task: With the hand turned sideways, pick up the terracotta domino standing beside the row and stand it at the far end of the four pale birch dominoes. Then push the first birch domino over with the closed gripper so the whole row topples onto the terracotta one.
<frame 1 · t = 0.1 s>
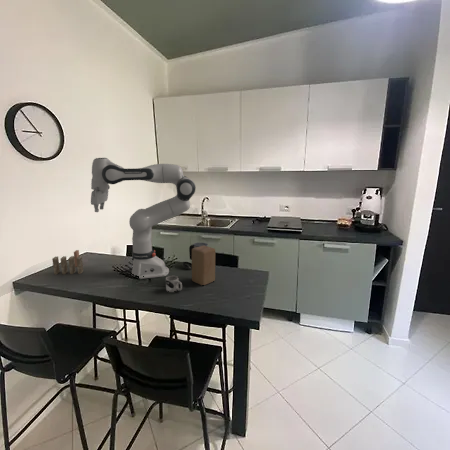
hand: (99, 210, 161), 39 cm above the table, tool pointing down, fingers open, 8 cm apart
mug: (174, 290, 150), on the table
domino 2: (72, 272, 170), on the table
wooden block: (203, 281, 162), on the table
domino 1: (80, 272, 171), on the table
milk frother: (195, 267, 184), on the table
domino 3: (65, 273, 170), on the table
domino 4: (57, 273, 169), on the table
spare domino: (77, 265, 182), on the table
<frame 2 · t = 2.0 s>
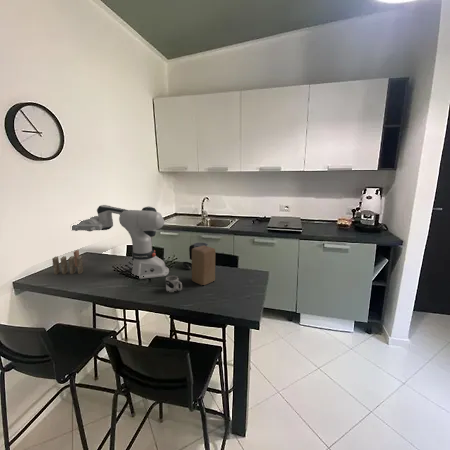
hand: (83, 229, 190), 21 cm above the table, tool horizontal, fingers open, 8 cm apart
nothing on the table moved.
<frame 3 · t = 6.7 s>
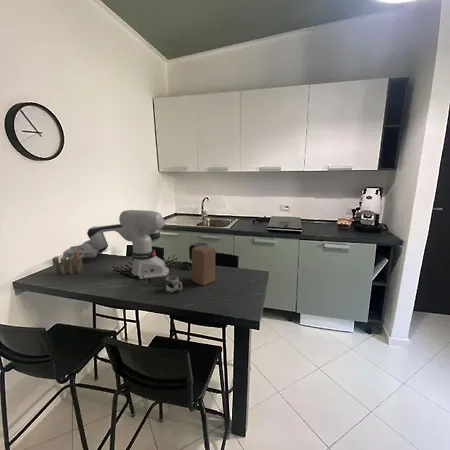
hand: (76, 257, 180), 6 cm above the table, tool horizontal, fingers closed on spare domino, 2 cm apart
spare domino: (77, 265, 182), on the table, touching gripper
everything else where it was.
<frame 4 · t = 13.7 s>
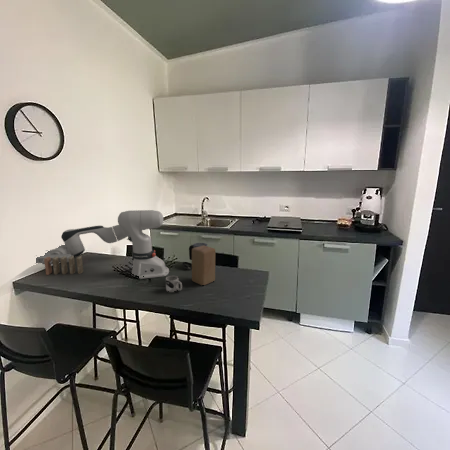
hand: (47, 263, 166), 7 cm above the table, tool horizontal, fingers open, 3 cm apart
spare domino: (49, 273, 169), on the table
everything else where it was.
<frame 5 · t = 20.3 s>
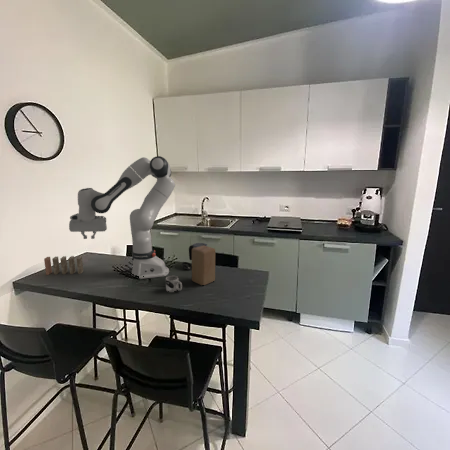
hand: (89, 238, 167), 21 cm above the table, tool pointing down, fingers open, 3 cm apart
nothing on the table moved.
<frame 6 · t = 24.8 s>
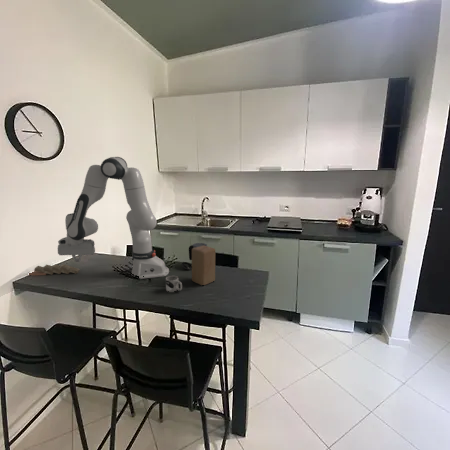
hand: (77, 261, 169), 7 cm above the table, tool pointing down, fingers closed
domino 2: (70, 271, 170), point 1 cm above the table, tilted 69°, touching domino 1, domino 3
domino 1: (78, 271, 171), point 1 cm above the table, tilted 69°, touching domino 2
domino 3: (62, 271, 170), point 1 cm above the table, tilted 69°, touching domino 2, domino 4
domino 4: (53, 272, 169), point 1 cm above the table, tilted 72°, touching domino 3
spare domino: (47, 273, 168), on the table, tilted 90°
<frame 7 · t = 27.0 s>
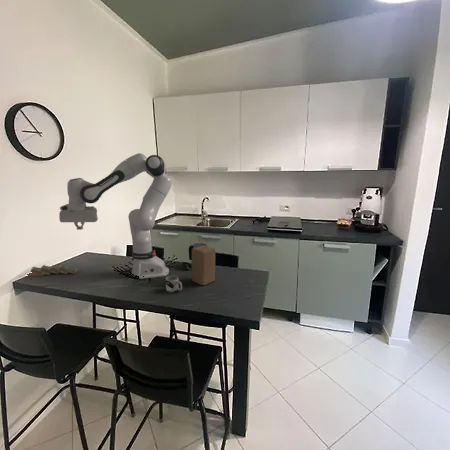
hand: (79, 229, 165), 27 cm above the table, tool pointing down, fingers closed
domino 2: (69, 271, 170), point 1 cm above the table, tilted 71°, touching domino 1
domino 1: (77, 271, 170), point 1 cm above the table, tilted 71°, touching domino 2
domino 3: (59, 271, 170), point 1 cm above the table, tilted 70°, touching domino 4
domino 4: (50, 272, 168), point 1 cm above the table, tilted 71°, touching domino 3, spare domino
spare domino: (44, 273, 168), on the table, tilted 90°, touching domino 4
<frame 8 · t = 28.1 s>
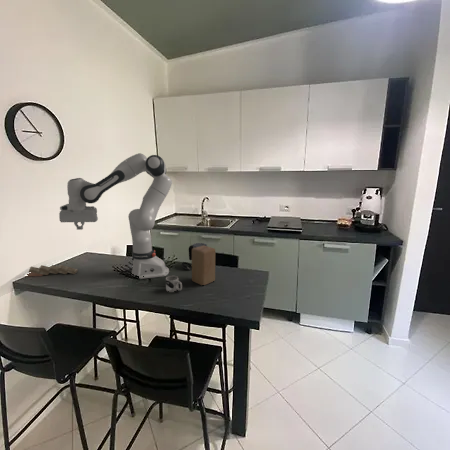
hand: (79, 229, 165), 27 cm above the table, tool pointing down, fingers closed
domino 2: (68, 272, 170), point 1 cm above the table, tilted 71°, touching domino 1, domino 3
domino 3: (58, 271, 170), point 1 cm above the table, tilted 69°, touching domino 2, domino 4
domino 4: (49, 272, 168), point 1 cm above the table, tilted 69°, touching domino 3, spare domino
at the end: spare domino tilted 90°; domino 1 tilted 71°; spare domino inside the target area (1.9 cm from its centre), on the table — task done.
